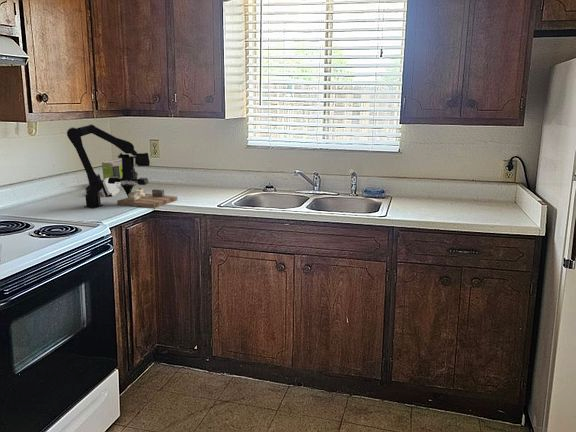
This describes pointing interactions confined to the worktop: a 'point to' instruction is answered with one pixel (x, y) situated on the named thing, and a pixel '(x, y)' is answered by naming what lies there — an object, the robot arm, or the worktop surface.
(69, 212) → the worktop surface
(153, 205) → the seat board
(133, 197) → the leg
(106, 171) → the tea box
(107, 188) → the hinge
